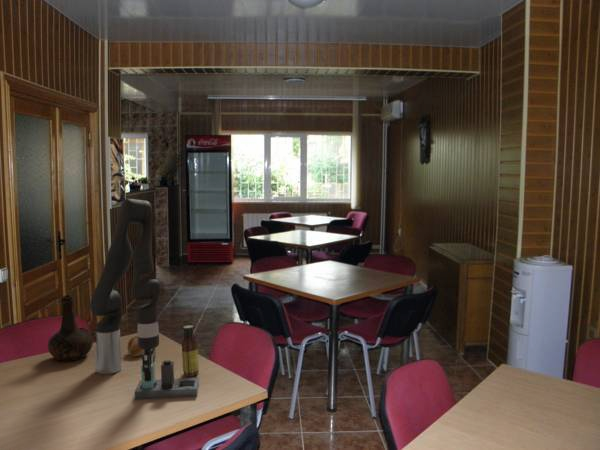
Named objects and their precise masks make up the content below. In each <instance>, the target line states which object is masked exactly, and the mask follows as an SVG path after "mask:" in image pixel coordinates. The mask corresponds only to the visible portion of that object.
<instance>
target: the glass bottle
mask: <svg viewBox="0 0 600 450" xmlns="http://www.w3.org/2000/svg"><path fill="white" fill-rule="evenodd" d="M73 297H74V296H73V295H71V294H66V295H63V296H61V299H60V301H59V303H61V323H60V329H59V331H57V332H55V333H54V334H53V335H52V336H50V338H49V340H48V343H47V349H48V352H49V353H50V355H51V356H52V357H53V358H54V359H57V360H58V361H61V362H69V361H70V362H71V361H77V360H80V359H82V358H84V357H86V355H88V354H89V352H90V351H91V349H92V348H93V345H94V343H93V342H94V341H93V340H94V339H93V337H92V335H91V333H90V332H89V330H87V329H86V328H83V327H79V326H78V323H77V321H76V316H75V309H74V308H75V307H74V301H75V298H73Z"/></svg>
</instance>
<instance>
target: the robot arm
mask: <svg viewBox="0 0 600 450" xmlns="http://www.w3.org/2000/svg"><path fill="white" fill-rule="evenodd" d="M130 224H137V225H138V224H140V227H141V233H140V236H139V238H138V240H137V242H136V243H135V245H134V247H133V248H132V245H131V242H130V238H129V236H128V232H129V231H128V230H129V225H130ZM152 239H153V207H152V204H151V202H149V201H148V200H143V199H134V198H125V199H124V200H123V201H122V203H121V205H120V208H119V210H118V216H117V221H116V225H115V229H114V234H113V237H112V239H111V243H110V246H109V249H108V252H107V254H106V255H107V256H106V258H105V262H104V266H103V268H102V272H101V274H100V278H99V280H98V282H97V284H96V286H95V289H94V291H93V293H92V296H91V299H90V302H89V303H90V304H89V307H90V311H91V313H92V314H93V315H94V316H98V317H101V319H100V320H99V321H98V322H97V323H96V325H95V337H96V340H95V341H96V348H95V349H94V366H95V368H94V369H95V372H96V373H97V374H99V375H113V374H115V373H117V372H118V373H119V372H120V371H121V370H122V352H121V351H122V350H121V323H122V318H123V317H122V314H123V313H122V311H123V308H122V307H123V304H122V297H121V295H120V293H119V292H118V291H117V290H114V288H115V287H116V285H117V284H118V282H119V281H121V279H122V278H123V277H124V275H126V273H127V272H128V270H129V268H130V266H131V261H132V263H133V264H132V265H133V279H132V285H131V288H130V289H131V291H130V294H131V297H132V299H134V300H136V301H143V300H150V301H149V302H148V303H145V304H143V305H142V304H141V305H140V306H138V308H137V311H136V314H137V316H136V317H137V328H136V329H137V330H136V333H137V334H136V335H137V336H138V347H139V348H140V349H144V353H142V354H141V355H142V356H141V358H142V363H141V366H142V365H143V369H142V371H143V372H144V376H145V381H151V365H153V362H154V366H155V362H156V358H157V356H156V348H158V347H159V345H160V333H159V332H160V331H159V330H160V328H159V321H158V307H159V301H160V297H161V293H162V284H161V282H160V280H159V279H156V278H155V279H154V278H152V279H144V280H143V279H142V278H143V277H147V276H149V275H151V274H153V273H154V271H155V270H154V269H155V268H154V267H155V266H154V259H153V250H152ZM141 279H142V280H141ZM102 316H103V317H102ZM146 365H148V368H146Z"/></svg>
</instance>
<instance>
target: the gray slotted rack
mask: <svg viewBox="0 0 600 450" xmlns="http://www.w3.org/2000/svg"><path fill="white" fill-rule="evenodd" d="M174 364H175V361H172V360H169V359H168V360H163V361H162V362H161V365H160V379H155V388H146V389H142V379H141V380H139V382H138V384H137V386H136V388H135V390H134V400H136V401H137V400H139V401H140V400H157V399H172V398H173V399H175V398H193V397H194V398H196V397H198V393H199V388H200V378H199V377H187V378H185V377H184V378H175V373H174V371H175V369H174V368H175V366H174Z"/></svg>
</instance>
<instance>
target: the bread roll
mask: <svg viewBox="0 0 600 450" xmlns="http://www.w3.org/2000/svg"><path fill="white" fill-rule="evenodd" d="M127 352H128V354H129V355H130V356H131V357H138V356H141V355H143V353H144V349H140V348H139V347H138V336H137V334H136V335H134V336H132V337H131V338H130V339H129V340H128V344H127Z"/></svg>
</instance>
